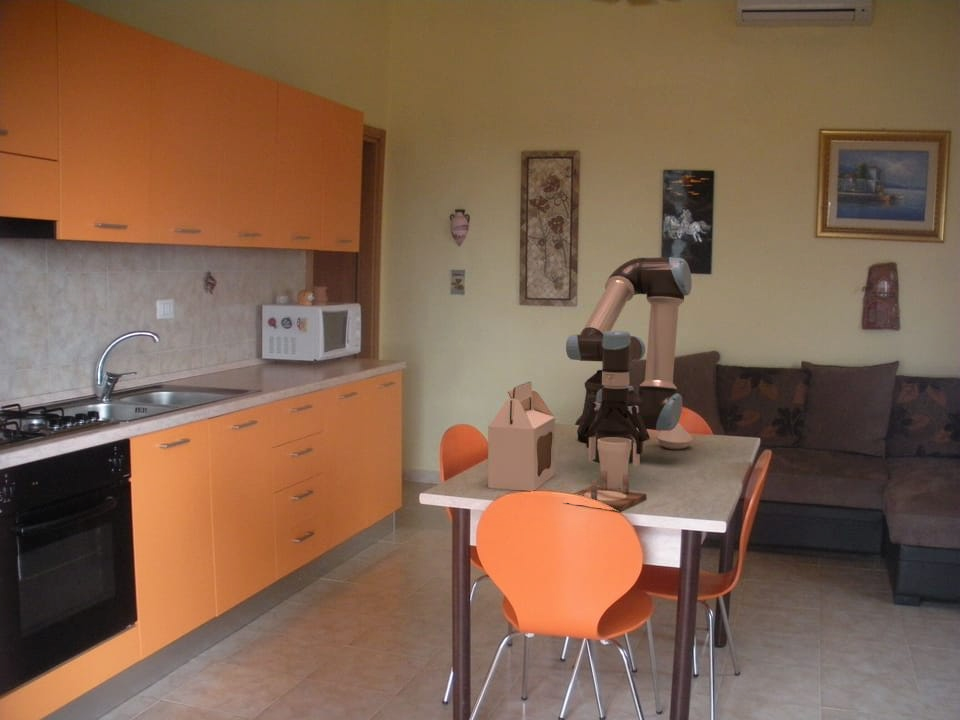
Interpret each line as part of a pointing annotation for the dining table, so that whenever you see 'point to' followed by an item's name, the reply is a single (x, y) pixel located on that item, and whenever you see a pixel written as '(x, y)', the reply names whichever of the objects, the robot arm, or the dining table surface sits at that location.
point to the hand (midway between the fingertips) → (613, 462)
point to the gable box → (521, 442)
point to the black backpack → (590, 401)
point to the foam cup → (614, 459)
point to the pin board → (613, 493)
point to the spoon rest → (675, 438)
